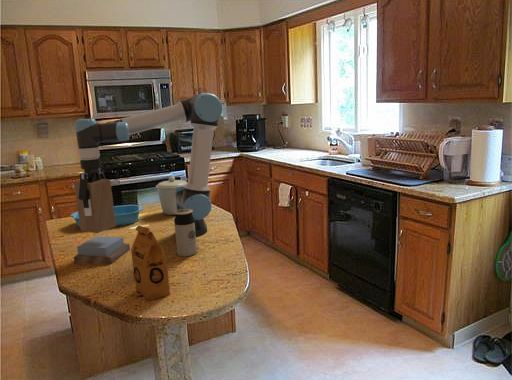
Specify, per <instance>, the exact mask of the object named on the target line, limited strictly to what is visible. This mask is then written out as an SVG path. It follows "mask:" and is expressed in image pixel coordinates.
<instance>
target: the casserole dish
mask: <svg viewBox="0 0 512 380" xmlns="http://www.w3.org/2000/svg"><path fill="white" fill-rule="evenodd" d="M113 206H114V205H113ZM144 209H145V208H144V206H142V205H138V204H125V205H115V206H114V214H115V222H116V227H118V226H120V227H121V226H126V225H127V224H128V225H131V224H132V223H133V224H135V223H136V222H137V221H138V219H139V216H140V212H141V211H143V210H144ZM70 218H73V219H74V220H75V223H76V224H77V226H78V227H79V228H80V222H79V215H78V211H76V212H73V213H71V214H70ZM133 224H132V225H133Z"/></svg>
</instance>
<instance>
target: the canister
mask: <svg viewBox="0 0 512 380" xmlns="http://www.w3.org/2000/svg"><path fill="white" fill-rule="evenodd" d="M187 183H188V181H186V180H183V179H182V180H181V179H176V177H175V176H174V175H173V176H172V175H171V176H169V177H168V180H164V181H160V182H159V183H158V184H156V185H155V187H156V188H157V192H158V194H157V195H158V197H159V202H160V207H161V211H162V212H163V213H164V215H166V216H175V213H174V211H176V210H177V205H176V195H175V188H176V187H177V186H182V185H186V184H187Z"/></svg>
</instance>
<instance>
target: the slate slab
mask: <svg viewBox="0 0 512 380" xmlns="http://www.w3.org/2000/svg"><path fill="white" fill-rule="evenodd" d="M124 244H125V243H124V237H122V236H94V237H92V238H90V239H89V240H87V241H85V242H83V243H81V244H80V245H78V246H76V250H77V254H78V255H87V256H108V255H110V254H111V253H113V252H114V251H116V250H117V249H119V248H120V247H122V246H123V245H124Z"/></svg>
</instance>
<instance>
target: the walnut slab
mask: <svg viewBox="0 0 512 380" xmlns="http://www.w3.org/2000/svg"><path fill="white" fill-rule="evenodd" d="M130 251H131V248H130V243H124V245H123V246H122V247H120V248H119V249H117V250H116V251H114V252H113V253H111V254H110V255H108V256H87V255H78V253H77V254H76V255H74V256H73V261H74V264H78V265H79V264H80V265H81V264H82V265H84V264H85V265H86V264H87V265H92V264H95V265H96V264H97V265H111V264H112V265H113V264H114V263H116V261H118V260H119V259H120V258H122V257H123V256H125V254H126V253H128V252H130Z"/></svg>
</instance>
